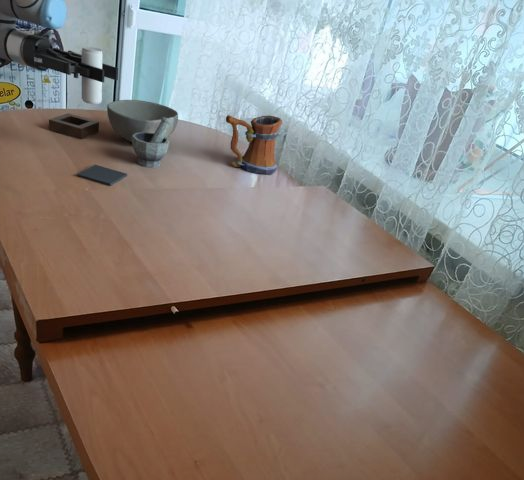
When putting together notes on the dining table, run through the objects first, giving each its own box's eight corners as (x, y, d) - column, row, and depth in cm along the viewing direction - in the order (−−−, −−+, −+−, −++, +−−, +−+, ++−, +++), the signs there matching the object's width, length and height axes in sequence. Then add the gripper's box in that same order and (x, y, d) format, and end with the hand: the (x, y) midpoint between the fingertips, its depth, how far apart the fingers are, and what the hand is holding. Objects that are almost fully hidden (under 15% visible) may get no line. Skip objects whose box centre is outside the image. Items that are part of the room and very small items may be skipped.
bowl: (150, 129, 175) (152, 96, 169) (188, 151, 165) (192, 117, 159) (93, 132, 162) (93, 96, 157) (130, 156, 152) (132, 119, 146)
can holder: (49, 130, 157) (48, 119, 155) (68, 123, 165) (68, 113, 163) (81, 139, 155) (81, 128, 154) (99, 132, 164) (99, 121, 162)
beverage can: (102, 105, 136) (103, 52, 129) (82, 103, 134) (82, 49, 127) (100, 100, 139) (101, 48, 132) (81, 98, 138) (80, 45, 131)
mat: (76, 176, 134) (76, 173, 133) (95, 166, 141) (95, 164, 140) (110, 186, 133) (110, 183, 132) (127, 175, 140) (127, 173, 140)
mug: (226, 173, 155) (234, 119, 147) (213, 159, 163) (220, 107, 155) (282, 176, 163) (293, 124, 154) (267, 162, 171) (276, 112, 162)
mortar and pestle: (146, 171, 145) (149, 125, 138) (124, 159, 149) (125, 113, 142) (177, 166, 153) (182, 122, 146) (155, 155, 157) (158, 111, 150)
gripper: (56, 64, 145) (130, 88, 141) (6, 70, 131) (86, 96, 126) (55, 33, 141) (132, 55, 136) (3, 34, 127) (86, 60, 122)
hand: (110, 75), depth 131 cm, fingers closed on beverage can, 5 cm apart
